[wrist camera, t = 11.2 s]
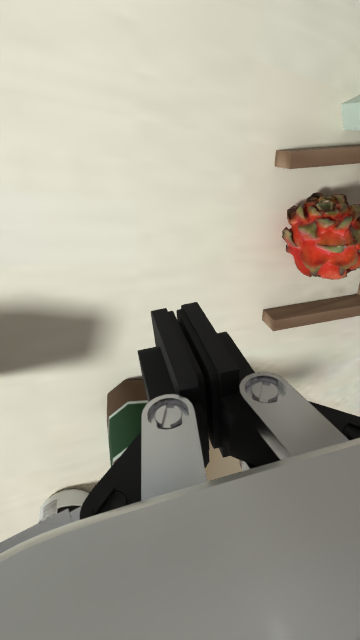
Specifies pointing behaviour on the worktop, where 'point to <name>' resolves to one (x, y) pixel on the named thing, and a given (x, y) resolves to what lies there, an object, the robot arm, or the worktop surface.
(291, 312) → the bay
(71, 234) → the worktop surface
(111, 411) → the beer bottle
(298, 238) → the dragon fruit
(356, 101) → the t block
